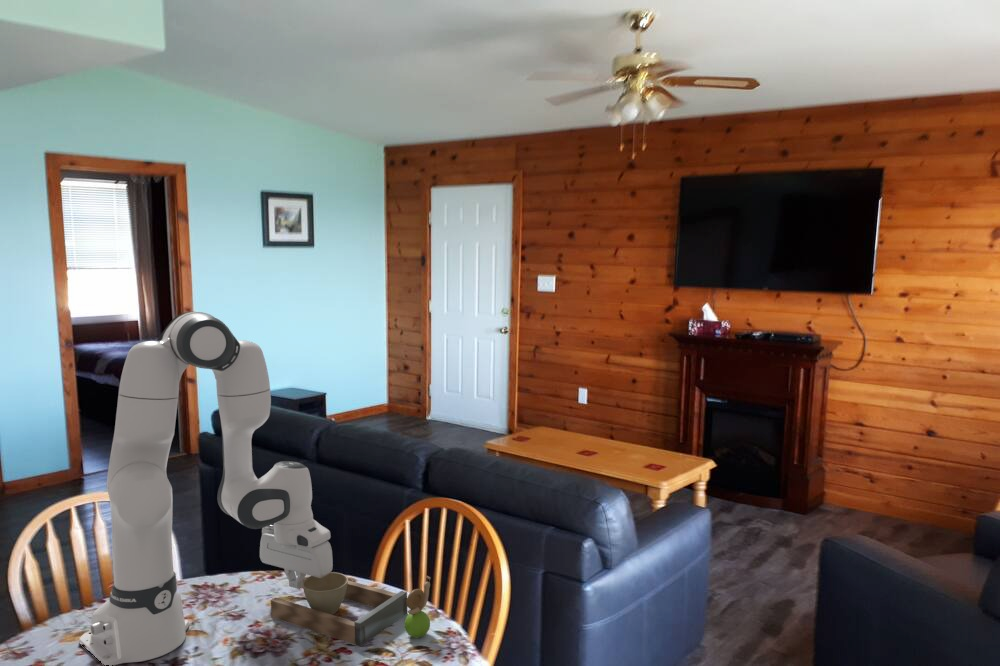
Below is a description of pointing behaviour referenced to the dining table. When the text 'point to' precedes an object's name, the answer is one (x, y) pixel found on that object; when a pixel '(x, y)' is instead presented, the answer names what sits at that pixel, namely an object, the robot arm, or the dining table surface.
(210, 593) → the dining table surface
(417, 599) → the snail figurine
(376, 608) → the walled lane
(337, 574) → the flower pot
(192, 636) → the dining table surface
